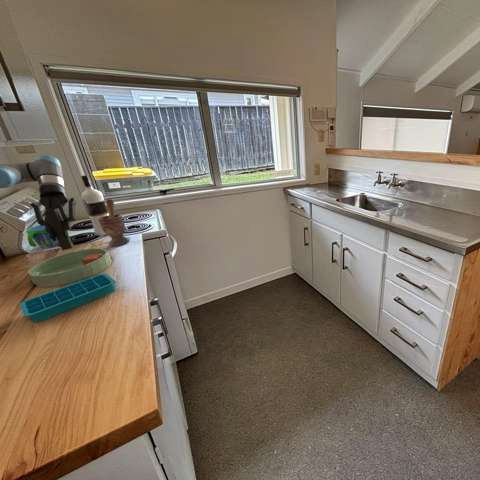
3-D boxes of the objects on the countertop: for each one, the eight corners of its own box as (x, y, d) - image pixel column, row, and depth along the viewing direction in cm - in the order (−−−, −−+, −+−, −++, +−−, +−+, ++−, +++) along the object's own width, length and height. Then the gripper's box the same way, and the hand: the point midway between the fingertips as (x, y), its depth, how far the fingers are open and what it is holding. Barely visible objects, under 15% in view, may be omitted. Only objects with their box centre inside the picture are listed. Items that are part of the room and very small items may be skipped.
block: (86, 270, 94) (81, 260, 93) (92, 265, 98) (87, 255, 97) (100, 268, 96) (95, 258, 94) (105, 263, 99) (101, 253, 98)
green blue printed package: (46, 253, 113) (35, 232, 109) (23, 254, 114) (12, 233, 110) (77, 240, 128) (69, 220, 124) (57, 241, 128) (48, 221, 124)
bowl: (25, 296, 81) (17, 282, 79) (45, 269, 98) (39, 258, 96) (109, 275, 92) (103, 262, 90) (114, 254, 109) (110, 243, 107)
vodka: (119, 232, 136) (98, 174, 125) (97, 237, 130) (73, 177, 118) (115, 229, 142) (94, 173, 130) (94, 234, 136) (70, 176, 124)
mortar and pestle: (106, 242, 123) (90, 201, 116) (128, 237, 129) (114, 197, 121) (109, 248, 115) (92, 205, 108) (132, 242, 121) (117, 201, 113)
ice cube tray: (119, 290, 82) (116, 282, 81) (30, 326, 67) (24, 317, 66) (108, 279, 88) (105, 272, 87) (24, 311, 74) (19, 302, 73)
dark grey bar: (62, 250, 102) (43, 211, 96) (64, 248, 104) (46, 210, 98) (72, 248, 104) (54, 210, 97) (74, 246, 106) (56, 208, 100)
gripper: (81, 191, 112) (90, 237, 106) (30, 197, 105) (36, 247, 98) (73, 180, 106) (82, 228, 100) (19, 186, 98) (24, 238, 92)
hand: (59, 237), depth 99 cm, fingers closed on dark grey bar, 3 cm apart
